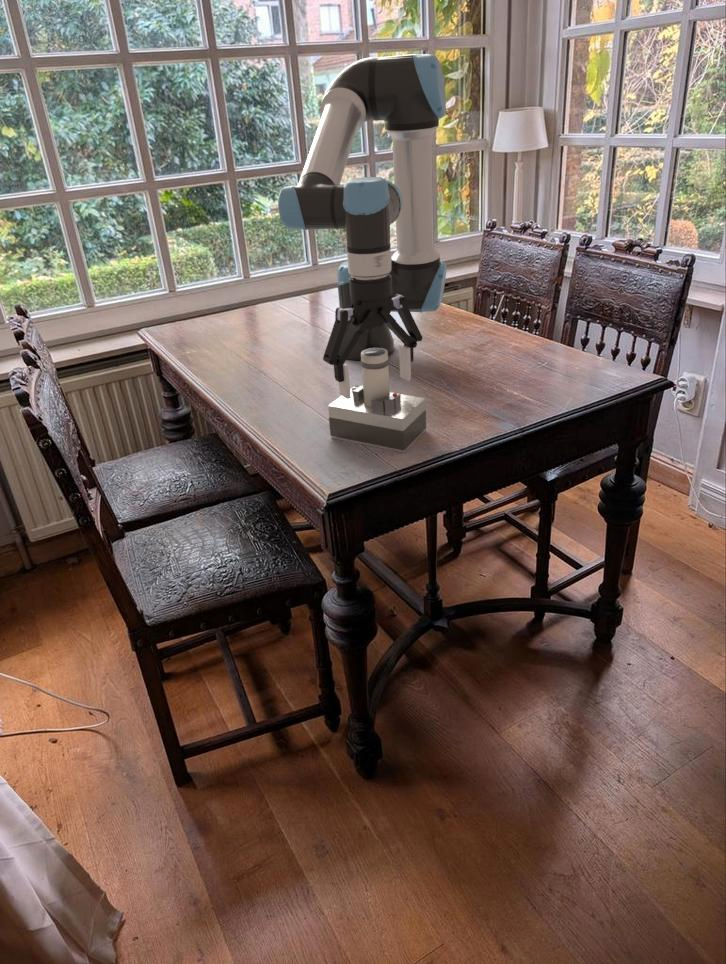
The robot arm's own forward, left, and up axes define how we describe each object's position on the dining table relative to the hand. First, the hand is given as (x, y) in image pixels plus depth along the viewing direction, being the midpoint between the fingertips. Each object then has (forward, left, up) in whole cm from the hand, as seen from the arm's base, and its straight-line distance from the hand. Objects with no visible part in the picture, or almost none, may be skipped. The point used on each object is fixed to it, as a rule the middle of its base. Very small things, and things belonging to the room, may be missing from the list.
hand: (376, 387), depth 130 cm
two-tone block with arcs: (0, 0, -10) cm, 10 cm away
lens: (0, 0, -3) cm, 3 cm away
